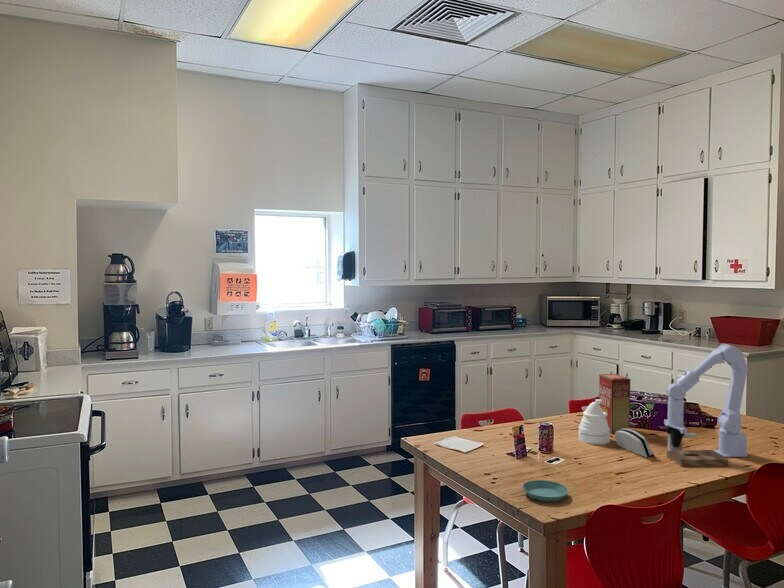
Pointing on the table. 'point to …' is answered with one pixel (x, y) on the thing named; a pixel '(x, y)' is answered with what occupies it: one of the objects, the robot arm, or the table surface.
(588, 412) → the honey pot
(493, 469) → the table surface
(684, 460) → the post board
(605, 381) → the food packaging
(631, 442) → the napkin holder
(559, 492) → the saucer
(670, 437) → the bracket
